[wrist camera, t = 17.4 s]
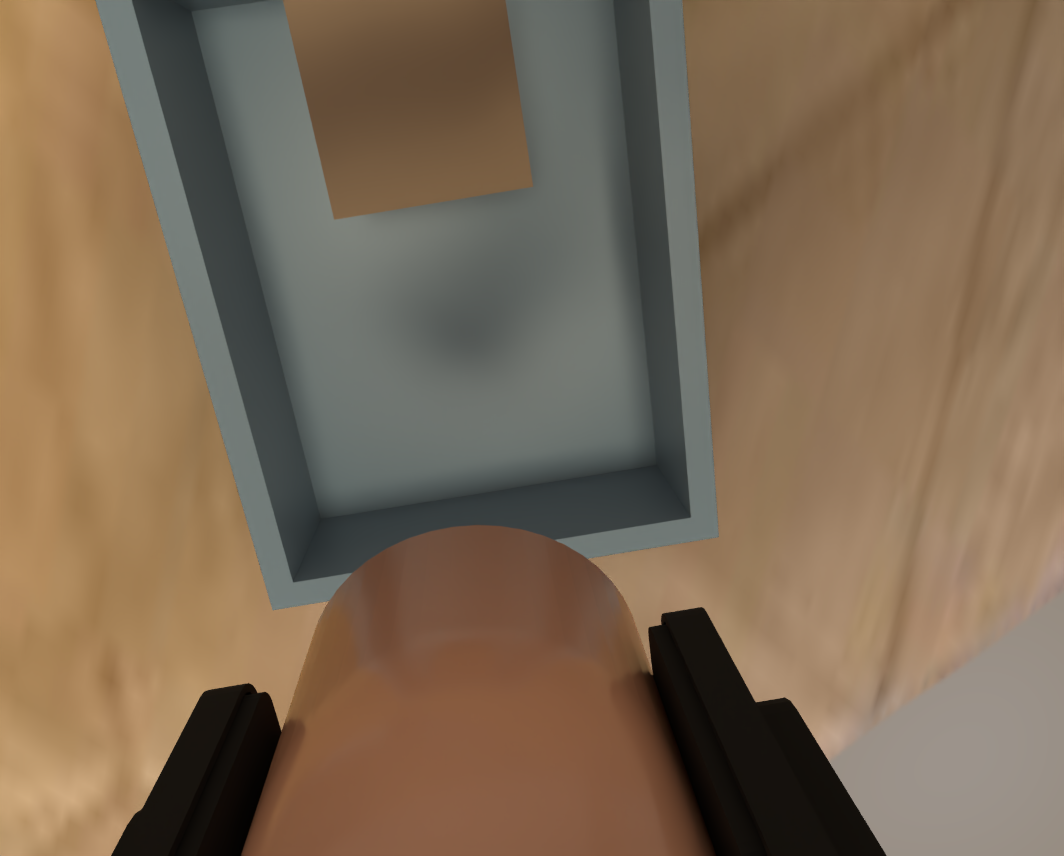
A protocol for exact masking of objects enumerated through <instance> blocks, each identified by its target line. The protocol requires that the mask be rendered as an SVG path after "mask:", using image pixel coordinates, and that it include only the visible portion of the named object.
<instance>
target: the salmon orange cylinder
mask: <svg viewBox="0 0 1064 856" xmlns="http://www.w3.org/2000/svg"><path fill="white" fill-rule="evenodd" d="M241 856H716V853H715V850H714V847H713V844H712V841H711V839H710V836H709V833H708V830H707V827H706V824H705V822H704V819H703V816H702V813H701V810H700V807H699V805H698V802H697V799H696V796H695V793H694V790H693V788H692V785H691V782H690V779H689V776H688V773H687V771H686V768H685V765H684V762H683V759H682V756H681V754H680V751H679V748H678V745H677V742H676V739H675V737H674V734H673V731H672V728H671V725H670V722H669V720H668V717H667V714H666V711H665V708H664V705H663V703H662V700H661V697H660V694H659V691H658V688H657V686H656V683H655V680H654V677H653V673H652V670H651V667H650V664H649V661H648V658H647V656H646V653H645V650H644V647H643V644H642V641H641V639H640V636H639V633H638V630H637V627H636V624H635V621H634V619H633V616H632V614H631V612H630V610H629V608H628V606H627V604H626V602H625V600H624V598H623V596H622V595H621V594H620V592H619V591H618V589H617V588H616V586H615V585H614V584H613V582H612V581H611V580H610V579H609V578H608V577H607V576H606V575H605V574H604V573H603V572H602V571H601V570H600V569H599V568H598V567H597V566H596V565H594V564H593V563H592V562H591V561H589V560H588V559H587V558H585V557H584V556H583V555H581V554H580V553H578V552H576V551H575V550H573V549H571V548H569V547H568V546H566V545H564V544H562V543H560V542H557V541H555V540H553V539H550V538H548V537H546V536H543V535H540V534H536V533H533V532H529V531H526V530H522V529H516V528H509V527H503V526H488V525H470V526H457V527H450V528H445V529H440V530H434V531H430V532H427V533H424V534H420V535H417V536H414V537H411V538H408V539H406V540H404V541H402V542H399V543H397V544H395V545H393V546H391V547H389V548H387V549H385V550H384V551H382V552H380V553H379V554H377V555H376V556H374V557H372V558H371V559H369V560H368V561H367V562H365V563H364V564H363V565H362V566H361V567H359V568H358V569H357V570H356V571H354V572H353V573H352V574H351V575H350V576H349V577H348V578H347V579H346V581H345V582H344V583H343V584H342V585H341V586H340V587H339V588H338V589H337V591H336V592H335V594H334V595H333V596H332V598H331V599H330V601H329V602H328V604H327V605H326V607H325V609H324V611H323V613H322V615H321V617H320V619H319V621H318V623H317V626H316V629H315V632H314V635H313V638H312V641H311V644H310V647H309V650H308V653H307V656H306V659H305V662H304V665H303V668H302V671H301V674H300V678H299V681H298V684H297V687H296V690H295V693H294V696H293V699H292V702H291V705H290V708H289V711H288V714H287V717H286V720H285V723H284V726H283V729H282V732H281V735H280V738H279V741H278V744H277V747H276V750H275V754H274V757H273V760H272V763H271V766H270V769H269V772H268V775H267V778H266V781H265V784H264V787H263V790H262V793H261V796H260V799H259V802H258V805H257V808H256V811H255V814H254V817H253V820H252V823H251V826H250V830H249V833H248V836H247V839H246V842H245V845H244V848H243V851H242V854H241Z"/></svg>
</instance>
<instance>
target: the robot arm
mask: <svg viewBox="0 0 1064 856" xmlns="http://www.w3.org/2000/svg"><path fill="white" fill-rule="evenodd" d="M648 633H649V644H650V653H651V662H652V672H653V677H654V680H655V683H656V686H657V688H658V691H659V694H660V697H661V700H662V703H663V705H664V708H665V711H666V714H667V717H668V720H669V722H670V725H671V728H672V731H673V734H674V737H675V739H676V742H677V745H678V748H679V751H680V754H681V756H682V759H683V762H684V765H685V768H686V771H687V773H688V776H689V779H690V782H691V785H692V788H693V790H694V793H695V796H696V799H697V802H698V805H699V807H700V810H701V813H702V816H703V819H704V822H705V824H706V827H707V830H708V833H709V836H710V839H711V841H712V844H713V847H714V850H715V853H716V856H886V854H885V852H884V851H883V849H882V848H881V846H880V844H879V843H878V841H877V839H876V838H875V836H874V834H873V833H872V831H871V830H870V828H869V826H868V825H867V823H866V821H865V820H864V818H863V817H862V815H861V814H860V812H859V810H858V808H857V807H856V805H855V804H854V802H853V800H852V799H851V797H850V795H849V794H848V792H847V790H846V789H845V787H844V786H843V784H842V782H841V781H840V779H839V778H838V776H837V774H836V773H835V771H834V769H833V768H832V766H831V764H830V763H829V761H828V759H827V758H826V756H825V755H824V753H823V751H822V750H821V748H820V746H819V745H818V743H817V742H816V740H815V738H814V737H813V735H812V733H811V732H810V730H809V729H808V727H807V725H806V724H805V722H804V720H803V719H802V717H801V715H800V714H799V712H798V711H797V709H796V708H795V706H794V705H793V704H792V702H791V701H790V700H788V699H786V698H780V699H774V700H768V701H762V702H755V701H754V699H753V697H752V695H751V693H750V691H749V689H748V688H747V686H746V684H745V682H744V680H743V678H742V677H741V675H740V673H739V671H738V669H737V667H736V666H735V664H734V662H733V660H732V658H731V656H730V655H729V653H728V651H727V649H726V647H725V645H724V643H723V642H722V640H721V638H720V636H719V634H718V632H717V631H716V629H715V627H714V625H713V623H712V621H711V620H710V618H709V616H708V614H707V612H706V611H705V609H704V608H702V607H700V608H694V609H688V610H682V611H676V612H670V613H664V614H662V616H661V625H659V626H653V627H649V631H648ZM280 735H281V729H280V726H279V722H278V719H277V716H276V712H275V709H274V706H273V703H272V700H271V697H270V696H269V694H268V693H266V692H262V693H257V691H256V689H255V688H254V686H253V685H251V684H249V683H248V684H242V685H236V686H230V687H224V688H218V689H212V690H207V691H205V692H204V693H203V694H202V695H201V697H200V699H199V700H198V702H197V704H196V706H195V708H194V710H193V712H192V714H191V716H190V718H189V720H188V722H187V724H186V726H185V727H184V729H183V731H182V733H181V735H180V737H179V739H178V741H177V743H176V745H175V747H174V749H173V751H172V753H171V754H170V756H169V758H168V760H167V762H166V764H165V766H164V768H163V770H162V772H161V774H160V776H159V778H158V780H157V781H156V783H155V785H154V787H153V789H152V791H151V793H150V795H149V797H148V799H147V801H146V803H145V805H144V807H143V808H142V809H141V810H140V811H138V812H137V813H136V814H135V815H134V816H133V818H132V819H131V820H130V822H129V823H128V825H127V827H126V829H125V830H124V832H123V834H122V836H121V838H120V840H119V842H118V844H117V846H116V847H115V849H114V851H113V853H112V855H111V856H241V854H242V851H243V848H244V845H245V842H246V839H247V836H248V833H249V830H250V826H251V823H252V820H253V817H254V814H255V811H256V808H257V805H258V802H259V799H260V796H261V793H262V790H263V787H264V784H265V781H266V778H267V775H268V772H269V769H270V766H271V763H272V760H273V757H274V754H275V750H276V747H277V744H278V741H279V738H280Z"/></svg>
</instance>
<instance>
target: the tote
mask: <svg viewBox="0 0 1064 856" xmlns="http://www.w3.org/2000/svg"><path fill="white" fill-rule="evenodd" d="M95 1H96V4H97V8H98V11H99V14H100V18H101V21H102V25H103V28H104V32H105V35H106V38H107V42H108V45H109V49H110V52H111V56H112V59H113V63H114V66H115V69H116V73H117V76H118V80H119V83H120V87H121V90H122V94H123V97H124V100H125V104H126V107H127V111H128V114H129V118H130V121H131V124H132V128H133V131H134V135H135V138H136V142H137V145H138V149H139V152H140V155H141V159H142V162H143V166H144V169H145V173H146V176H147V179H148V183H149V186H150V190H151V193H152V197H153V200H154V204H155V207H156V210H157V214H158V217H159V221H160V224H161V228H162V231H163V234H164V238H165V241H166V245H167V248H168V252H169V255H170V259H171V262H172V265H173V269H174V272H175V276H176V279H177V283H178V286H179V290H180V293H181V296H182V300H183V303H184V307H185V310H186V314H187V317H188V320H189V324H190V327H191V331H192V334H193V338H194V341H195V345H196V348H197V351H198V355H199V358H200V362H201V365H202V369H203V372H204V375H205V379H206V382H207V386H208V389H209V393H210V396H211V400H212V403H213V406H214V410H215V413H216V417H217V420H218V424H219V427H220V430H221V434H222V437H223V441H224V444H225V448H226V451H227V455H228V458H229V461H230V465H231V468H232V472H233V475H234V479H235V482H236V486H237V489H238V492H239V496H240V499H241V503H242V506H243V510H244V513H245V516H246V520H247V523H248V527H249V530H250V534H251V537H252V541H253V544H254V547H255V551H256V554H257V558H258V561H259V565H260V568H261V571H262V575H263V578H264V582H265V585H266V589H267V592H268V596H269V599H270V602H271V606H272V609H273V610H277V609H283V608H289V607H296V606H302V605H308V604H314V603H320V602H326V601H330V599H331V598H332V596H333V595H334V594H335V592H336V591H337V589H338V588H339V587H340V586H341V585H342V584H343V583H344V582H345V581H346V579H347V578H348V577H349V576H350V575H351V574H352V573H353V572H354V571H356V570H357V569H358V568H359V567H361V566H362V565H363V564H364V563H365V562H367V561H368V560H369V559H371V558H372V557H374V556H376V555H377V554H379V553H380V552H382V551H384V550H385V549H387V548H389V547H391V546H393V545H395V544H397V543H399V542H402V541H404V540H406V539H408V538H411V537H414V536H417V535H420V534H424V533H427V532H430V531H434V530H440V529H445V528H450V527H457V526H470V525H488V526H503V527H509V528H516V529H522V530H526V531H529V532H533V533H536V534H540V535H543V536H546V537H548V538H550V539H553V540H555V541H557V542H560V543H562V544H564V545H566V546H568V547H569V548H571V549H573V550H575V551H576V552H578V553H580V554H581V555H583V556H584V557H585V558H587V559H588V558H594V557H600V556H606V555H613V554H619V553H625V552H631V551H637V550H643V549H649V548H655V547H661V546H667V545H673V544H680V543H686V542H692V541H698V540H704V539H710V538H716V537H719V533H718V519H717V504H716V489H715V475H714V460H713V445H712V431H711V416H710V401H709V387H708V372H707V357H706V343H705V328H704V314H703V299H702V284H701V270H700V255H699V240H698V226H697V211H696V196H695V182H694V167H693V152H692V138H691V123H690V108H689V94H688V79H687V65H686V50H685V35H684V21H683V6H682V0H506V7H507V14H508V21H509V27H510V34H511V41H512V47H513V54H514V61H515V68H516V74H517V81H518V88H519V94H520V101H521V108H522V115H523V121H524V128H525V135H526V141H527V148H528V155H529V162H530V168H531V175H532V182H533V187H529V188H523V189H517V190H511V191H505V192H499V193H493V194H487V195H481V196H475V197H469V198H463V199H457V200H451V201H445V202H439V203H433V204H427V205H421V206H415V207H409V208H403V209H397V210H391V211H385V212H379V213H373V214H367V215H360V216H354V217H348V218H342V219H336V220H334V217H333V213H332V209H331V204H330V200H329V196H328V191H327V187H326V183H325V179H324V174H323V170H322V166H321V161H320V157H319V153H318V149H317V144H316V140H315V136H314V131H313V127H312V123H311V119H310V114H309V110H308V106H307V101H306V97H305V93H304V89H303V84H302V80H301V76H300V72H299V67H298V63H297V59H296V54H295V50H294V46H293V42H292V37H291V33H290V29H289V24H288V20H287V16H286V12H285V7H284V3H283V0H95Z"/></svg>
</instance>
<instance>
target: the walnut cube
mask: <svg viewBox="0 0 1064 856" xmlns="http://www.w3.org/2000/svg"><path fill="white" fill-rule="evenodd" d="M283 3H284V7H285V12H286V16H287V20H288V24H289V29H290V33H291V37H292V42H293V46H294V50H295V54H296V59H297V63H298V67H299V72H300V76H301V80H302V84H303V89H304V93H305V97H306V101H307V106H308V110H309V114H310V119H311V123H312V127H313V131H314V136H315V140H316V144H317V149H318V153H319V157H320V161H321V166H322V170H323V174H324V179H325V183H326V187H327V191H328V196H329V200H330V204H331V209H332V213H333V217H334V220H336V219H342V218H348V217H354V216H360V215H367V214H373V213H379V212H385V211H391V210H397V209H403V208H409V207H415V206H421V205H427V204H433V203H439V202H445V201H451V200H457V199H463V198H469V197H475V196H481V195H487V194H493V193H499V192H505V191H511V190H517V189H523V188H529V187H533V182H532V175H531V168H530V162H529V155H528V148H527V141H526V135H525V128H524V121H523V115H522V108H521V101H520V94H519V88H518V81H517V74H516V68H515V61H514V54H513V47H512V41H511V34H510V27H509V21H508V14H507V7H506V0H283Z"/></svg>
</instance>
